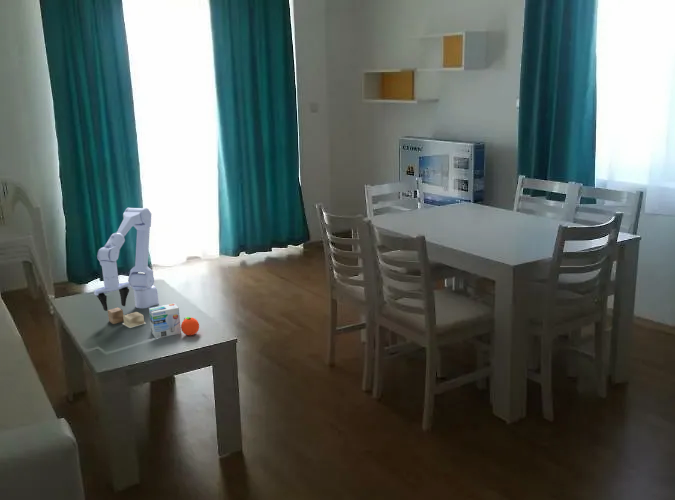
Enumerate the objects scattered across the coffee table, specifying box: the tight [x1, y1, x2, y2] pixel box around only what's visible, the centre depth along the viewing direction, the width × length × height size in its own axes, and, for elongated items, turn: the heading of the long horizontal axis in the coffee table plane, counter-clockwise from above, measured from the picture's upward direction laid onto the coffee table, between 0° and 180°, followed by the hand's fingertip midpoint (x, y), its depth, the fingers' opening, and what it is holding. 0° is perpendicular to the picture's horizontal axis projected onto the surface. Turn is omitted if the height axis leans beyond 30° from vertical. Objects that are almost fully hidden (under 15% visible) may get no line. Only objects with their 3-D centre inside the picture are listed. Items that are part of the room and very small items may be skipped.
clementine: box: [180, 316, 200, 336], centre depth 257 cm, size 8×7×7 cm
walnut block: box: [107, 307, 124, 325], centre depth 272 cm, size 4×4×5 cm
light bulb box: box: [148, 302, 182, 339], centre depth 258 cm, size 11×7×11 cm, turn 117°
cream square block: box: [123, 311, 145, 328], centre depth 269 cm, size 6×6×4 cm
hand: (114, 307), depth 271 cm, fingers open, 7 cm apart
